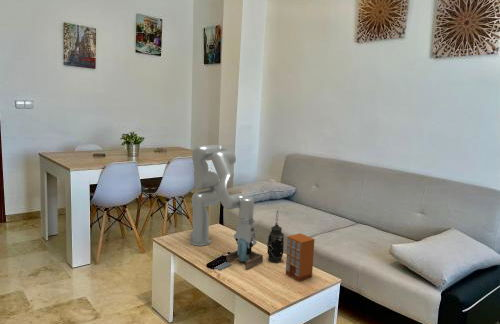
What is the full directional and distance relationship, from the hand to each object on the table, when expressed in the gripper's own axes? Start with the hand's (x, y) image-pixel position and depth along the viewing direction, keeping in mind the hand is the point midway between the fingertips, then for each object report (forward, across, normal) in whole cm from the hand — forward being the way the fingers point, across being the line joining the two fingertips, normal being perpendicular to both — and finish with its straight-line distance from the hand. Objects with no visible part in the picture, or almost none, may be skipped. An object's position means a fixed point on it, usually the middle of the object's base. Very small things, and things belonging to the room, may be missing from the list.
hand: (244, 252), depth 206 cm
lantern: (+6, -11, -14) cm, 18 cm away
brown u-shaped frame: (+6, -1, 0) cm, 6 cm away
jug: (+4, 0, +1) cm, 4 cm away
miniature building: (+5, -31, -6) cm, 32 cm away
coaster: (+6, +6, +12) cm, 15 cm away
